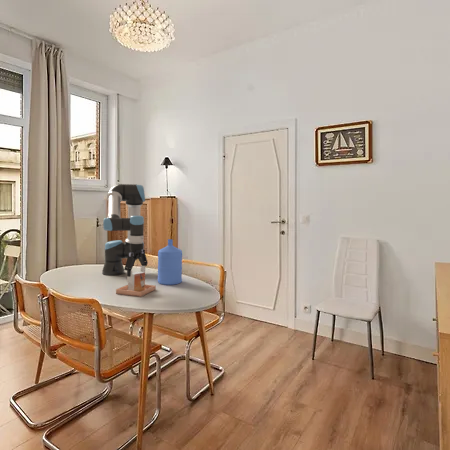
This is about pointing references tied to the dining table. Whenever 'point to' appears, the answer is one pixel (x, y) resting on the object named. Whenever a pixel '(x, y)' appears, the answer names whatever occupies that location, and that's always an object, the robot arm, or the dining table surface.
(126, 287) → the holder
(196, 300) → the dining table surface
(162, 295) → the dining table surface
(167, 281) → the water jug
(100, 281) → the dining table surface
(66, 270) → the dining table surface
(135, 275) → the small box
